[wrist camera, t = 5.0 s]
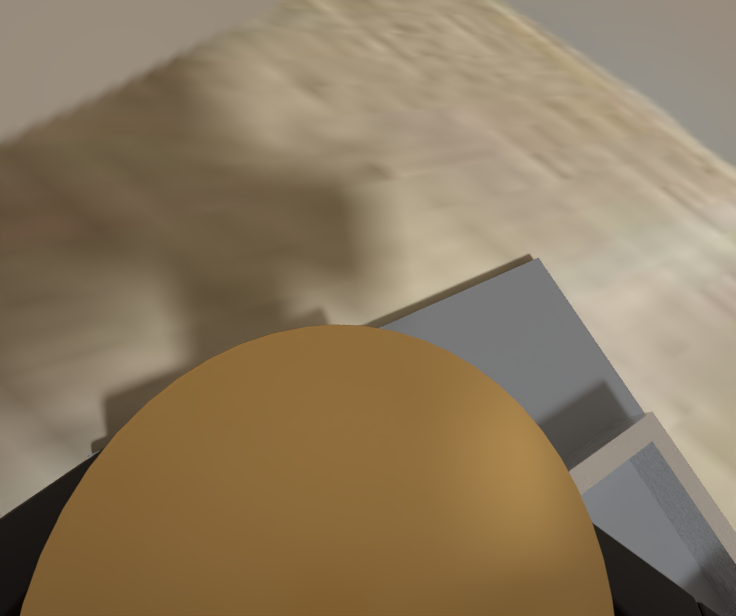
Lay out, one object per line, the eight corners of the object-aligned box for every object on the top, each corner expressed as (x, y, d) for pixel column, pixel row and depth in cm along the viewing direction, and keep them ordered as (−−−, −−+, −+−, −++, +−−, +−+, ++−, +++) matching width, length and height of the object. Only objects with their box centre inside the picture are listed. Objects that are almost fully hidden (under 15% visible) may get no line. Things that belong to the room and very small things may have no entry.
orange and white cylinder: (401, 563, 13) (719, 715, 4) (238, 675, 11) (141, 1439, 2) (327, 410, 14) (441, 263, 5) (170, 488, 12) (-69, 468, 3)
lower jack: (754, 618, 20) (803, 630, 18) (611, 785, 16) (654, 821, 14) (620, 418, 22) (652, 411, 21) (471, 522, 19) (493, 525, 17)
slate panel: (782, 628, 20) (793, 631, 20) (326, 1191, 12) (328, 1218, 11) (533, 261, 26) (538, 257, 25) (92, 456, 17) (87, 456, 16)
